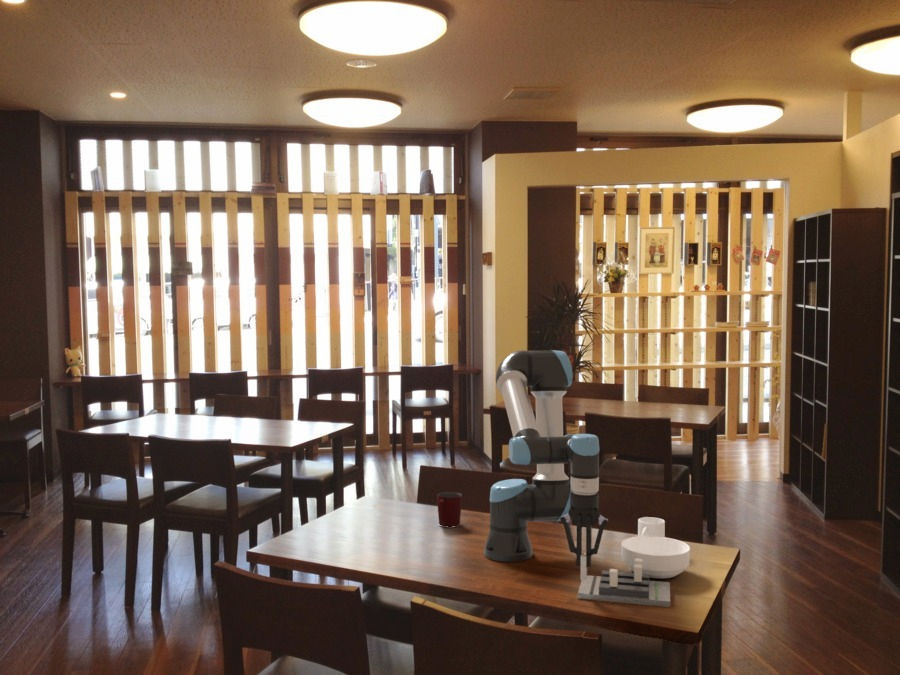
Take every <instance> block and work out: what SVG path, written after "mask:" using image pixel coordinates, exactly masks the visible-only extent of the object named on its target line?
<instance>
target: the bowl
mask: <svg viewBox="0 0 900 675" xmlns="http://www.w3.org/2000/svg"><path fill="white" fill-rule="evenodd" d="M620 548H621V549H620V550H621V551H620V552H621V560H622V561H623V563H624V564H625V565H626V567H627V568H628V569H630V570H631V571H632V572H634V564H635V558H638V559H642V574H649V579H650V578H651V579H670V578H674V577H676V576H678V575H680V574H681V573H683V572H684V571H685V569H686V568H688V567H689V566H690V559H691V547H690V545H688V544H687V543H685V542H684V541H681V540H680V539H679V540H678V539H675V538H671V537H666V536H665V537H659V536H638V535H636V536H632V537H627V538H624V539H623V540H622V541H621V544H620Z"/></svg>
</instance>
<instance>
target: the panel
mask: <svg viewBox="0 0 900 675" xmlns="http://www.w3.org/2000/svg"><path fill="white" fill-rule="evenodd" d="M577 599H578V600H579V599H580V600H588V601H589V600H590V601H600V602H601V601H602V602H609V603H610V602H611V603H621V604H622V603H623V604H630V605H641V606H643V605H644V606H655V607H663V608H671V583H670V582H669V581H657V580H650V577H649V574H642V582H634V572H627V571H618V586H617V587H611V586H610V570H605V569H602V571H601V576H597V575H588V574H587V579H586V580H580V585H579V588H578V591H577Z"/></svg>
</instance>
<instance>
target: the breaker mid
mask: <svg viewBox="0 0 900 675" xmlns="http://www.w3.org/2000/svg"><path fill="white" fill-rule="evenodd" d="M633 573H634V582H642V565H636V564H634V571H633Z"/></svg>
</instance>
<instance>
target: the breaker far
mask: <svg viewBox="0 0 900 675" xmlns="http://www.w3.org/2000/svg"><path fill="white" fill-rule="evenodd" d="M635 564H636V565H642V559H638V558H635Z"/></svg>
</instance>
